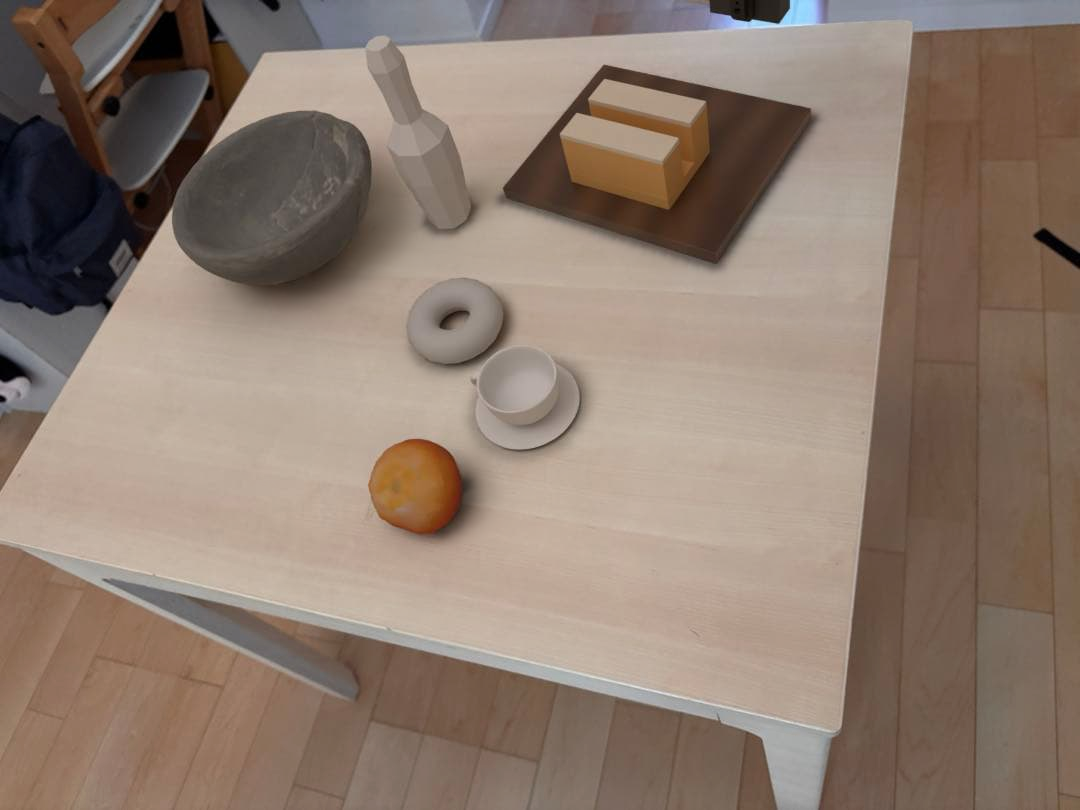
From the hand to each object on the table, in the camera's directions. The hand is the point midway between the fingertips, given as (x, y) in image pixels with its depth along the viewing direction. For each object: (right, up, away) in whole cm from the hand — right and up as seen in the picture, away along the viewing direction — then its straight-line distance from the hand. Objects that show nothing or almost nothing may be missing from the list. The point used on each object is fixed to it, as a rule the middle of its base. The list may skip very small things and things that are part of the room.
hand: (750, 8), depth 81 cm
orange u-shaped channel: (-9, -12, +12) cm, 19 cm away
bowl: (-47, -18, +20) cm, 55 cm away
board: (-7, -10, +14) cm, 19 cm away
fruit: (-30, -46, -3) cm, 55 cm away
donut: (-28, -30, +7) cm, 41 cm away
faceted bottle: (-30, -16, +17) cm, 38 cm away
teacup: (-21, -37, 0) cm, 43 cm away
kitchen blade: (-4, +1, +2) cm, 5 cm away
